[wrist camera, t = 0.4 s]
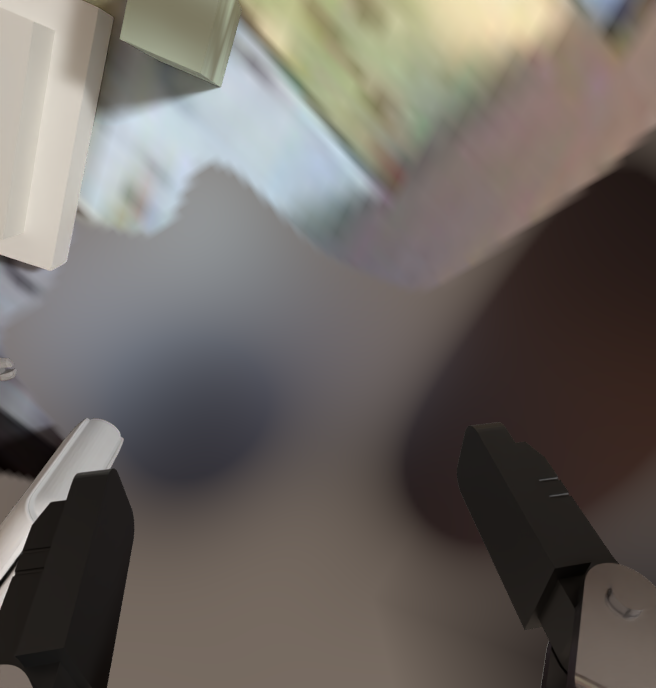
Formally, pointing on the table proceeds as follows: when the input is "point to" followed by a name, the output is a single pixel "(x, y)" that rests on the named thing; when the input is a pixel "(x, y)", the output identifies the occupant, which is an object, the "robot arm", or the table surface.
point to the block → (184, 33)
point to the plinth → (46, 121)
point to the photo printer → (55, 486)
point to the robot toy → (6, 374)
